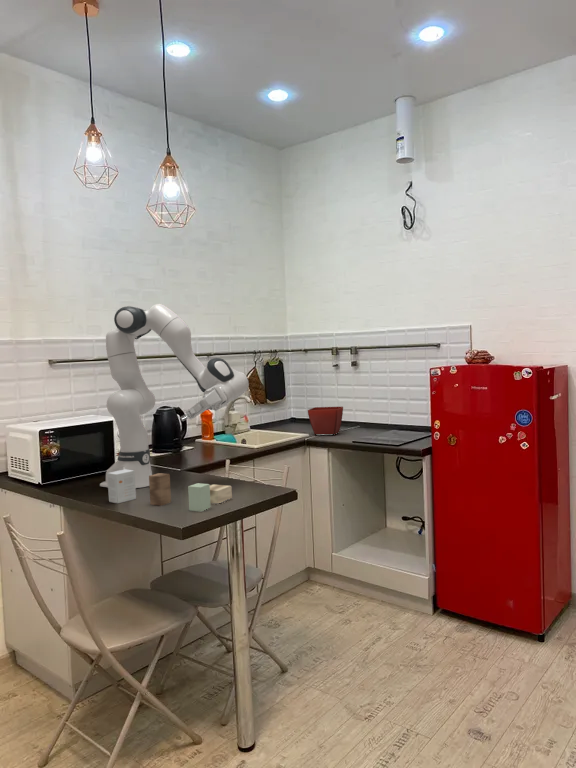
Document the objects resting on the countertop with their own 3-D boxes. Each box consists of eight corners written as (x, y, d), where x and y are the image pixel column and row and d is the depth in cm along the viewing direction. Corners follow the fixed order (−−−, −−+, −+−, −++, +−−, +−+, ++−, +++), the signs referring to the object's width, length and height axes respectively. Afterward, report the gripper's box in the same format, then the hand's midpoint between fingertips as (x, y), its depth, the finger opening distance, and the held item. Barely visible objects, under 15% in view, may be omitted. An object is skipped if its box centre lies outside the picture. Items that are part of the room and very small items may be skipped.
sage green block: (189, 510, 191) (188, 486, 191) (198, 506, 196) (197, 483, 195) (201, 511, 189) (200, 487, 189) (210, 508, 193) (209, 484, 193)
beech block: (199, 503, 201) (198, 489, 201) (213, 498, 208) (213, 484, 208) (218, 505, 197) (217, 490, 197) (232, 500, 204) (231, 485, 204)
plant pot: (308, 436, 362) (307, 409, 361) (315, 432, 380) (314, 407, 379) (338, 436, 356) (337, 409, 355) (344, 432, 374) (343, 406, 374)
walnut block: (150, 504, 202) (148, 475, 202) (160, 501, 206) (158, 473, 206) (161, 505, 200) (160, 476, 199) (171, 502, 204) (169, 473, 204)
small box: (127, 497, 215) (125, 468, 215) (136, 498, 212) (134, 470, 211) (108, 501, 209) (106, 472, 209) (117, 503, 205) (115, 474, 205)
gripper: (200, 399, 233) (172, 415, 226) (219, 384, 216) (190, 401, 209) (209, 412, 233) (181, 429, 226) (228, 398, 216) (199, 416, 209)
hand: (185, 415), depth 217 cm, fingers open, 8 cm apart
